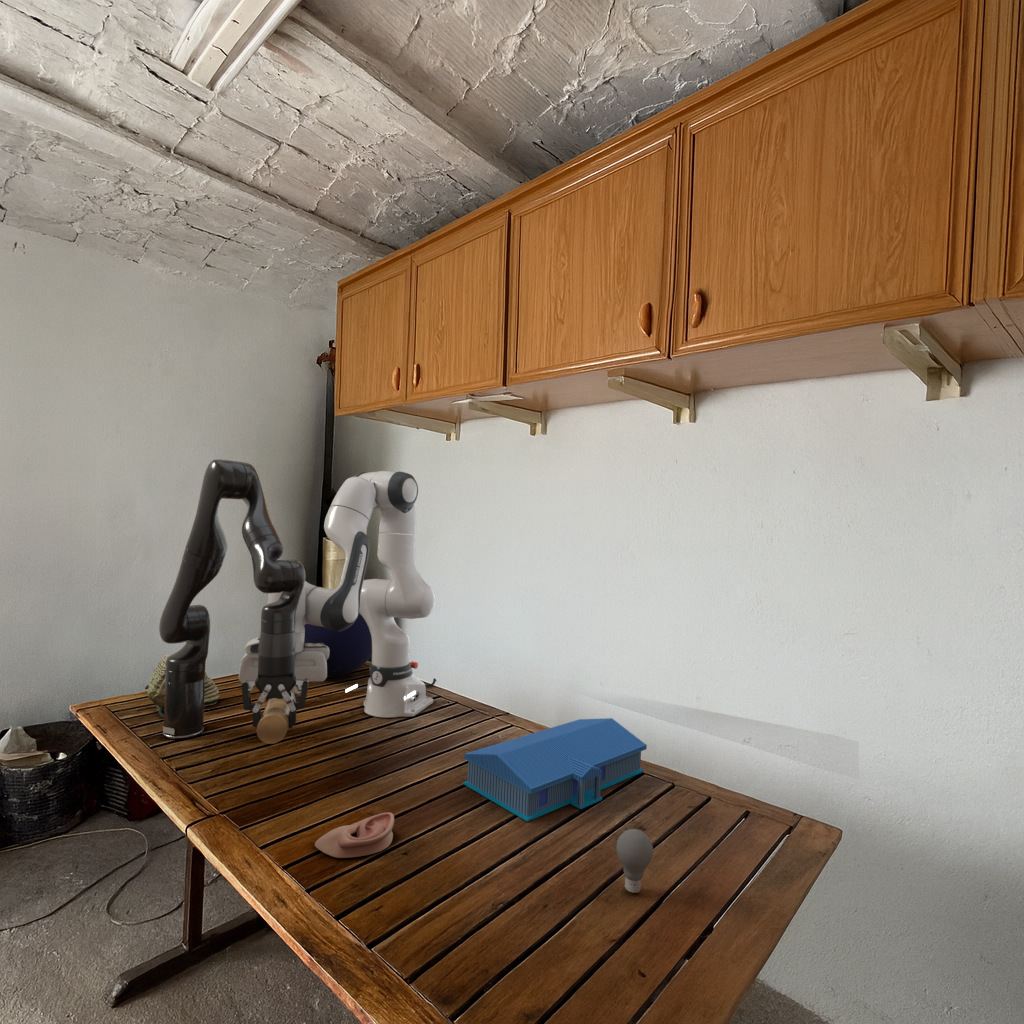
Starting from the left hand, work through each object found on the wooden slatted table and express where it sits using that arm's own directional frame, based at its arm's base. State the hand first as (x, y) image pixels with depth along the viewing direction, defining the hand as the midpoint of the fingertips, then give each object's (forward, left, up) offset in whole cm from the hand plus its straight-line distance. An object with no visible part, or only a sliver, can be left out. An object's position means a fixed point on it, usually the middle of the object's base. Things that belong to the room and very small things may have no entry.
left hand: (274, 727), depth 138 cm
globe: (-68, +50, -13) cm, 85 cm away
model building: (+38, +52, -13) cm, 66 cm away
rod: (-7, +4, -2) cm, 8 cm away
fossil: (-64, 0, -13) cm, 65 cm away
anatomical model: (+32, +2, -13) cm, 34 cm away
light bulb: (+74, +30, -13) cm, 81 cm away
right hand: (-14, +8, +1) cm, 16 cm away
